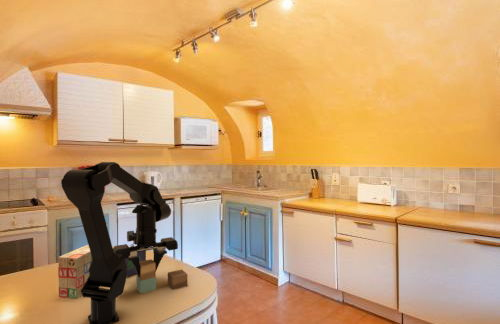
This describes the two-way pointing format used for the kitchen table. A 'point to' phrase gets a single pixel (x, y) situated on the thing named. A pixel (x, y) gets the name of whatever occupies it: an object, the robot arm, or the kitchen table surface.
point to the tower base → (146, 284)
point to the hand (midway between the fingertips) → (146, 274)
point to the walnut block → (177, 279)
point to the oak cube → (147, 269)
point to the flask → (130, 266)
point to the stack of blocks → (74, 272)
